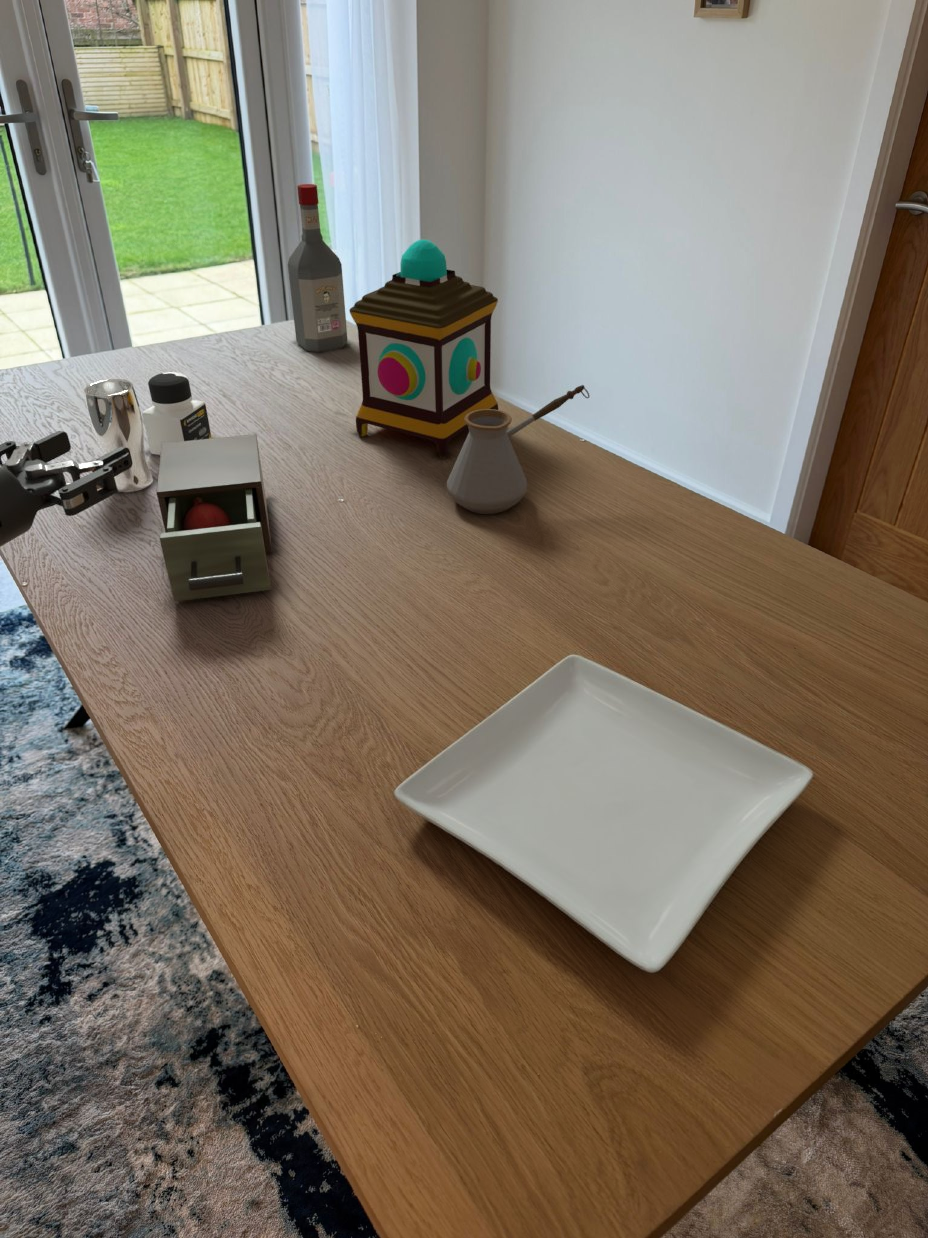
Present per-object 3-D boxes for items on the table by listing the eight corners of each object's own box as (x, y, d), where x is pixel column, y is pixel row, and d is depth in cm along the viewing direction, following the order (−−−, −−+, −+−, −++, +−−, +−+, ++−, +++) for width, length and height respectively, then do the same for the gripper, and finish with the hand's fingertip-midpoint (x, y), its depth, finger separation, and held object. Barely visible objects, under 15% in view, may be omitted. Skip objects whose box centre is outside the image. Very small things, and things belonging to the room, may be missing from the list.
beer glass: (98, 491, 132) (72, 394, 123) (123, 471, 137) (100, 376, 128) (141, 496, 130) (117, 398, 122) (165, 476, 136) (143, 380, 127)
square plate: (810, 797, 82) (819, 767, 80) (648, 1006, 65) (655, 975, 63) (570, 673, 97) (573, 645, 94) (389, 818, 80) (387, 787, 78)
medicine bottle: (189, 460, 140) (174, 387, 133) (150, 454, 142) (133, 381, 135) (213, 442, 146) (200, 370, 139) (175, 436, 147) (161, 365, 140)
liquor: (351, 347, 183) (339, 187, 165) (310, 355, 179) (292, 192, 162) (334, 335, 189) (320, 179, 172) (293, 342, 186) (275, 183, 168)
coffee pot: (467, 528, 122) (467, 425, 114) (434, 493, 131) (431, 395, 122) (600, 497, 130) (610, 398, 121) (560, 465, 138) (566, 371, 129)
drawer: (273, 613, 105) (263, 549, 99) (172, 627, 103) (157, 561, 97) (265, 535, 119) (256, 475, 114) (177, 545, 117) (163, 485, 112)
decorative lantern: (446, 465, 138) (442, 263, 121) (344, 438, 147) (327, 245, 129) (509, 421, 152) (514, 233, 135) (413, 398, 161) (406, 218, 143)
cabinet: (272, 554, 117) (261, 481, 111) (173, 566, 115) (156, 492, 109) (266, 502, 129) (256, 433, 123) (176, 512, 126) (161, 443, 120)
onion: (195, 569, 113) (176, 515, 115) (240, 557, 115) (220, 504, 117) (193, 549, 108) (173, 493, 110) (240, 537, 109) (219, 482, 112)
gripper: (-76, 535, 85) (57, 466, 97) (31, 571, 80) (158, 494, 92) (-105, 463, 81) (37, 400, 93) (6, 497, 76) (142, 425, 87)
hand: (97, 447), depth 92 cm, fingers open, 8 cm apart
